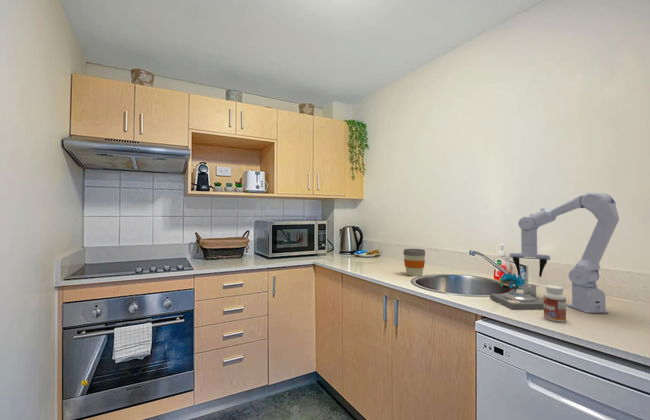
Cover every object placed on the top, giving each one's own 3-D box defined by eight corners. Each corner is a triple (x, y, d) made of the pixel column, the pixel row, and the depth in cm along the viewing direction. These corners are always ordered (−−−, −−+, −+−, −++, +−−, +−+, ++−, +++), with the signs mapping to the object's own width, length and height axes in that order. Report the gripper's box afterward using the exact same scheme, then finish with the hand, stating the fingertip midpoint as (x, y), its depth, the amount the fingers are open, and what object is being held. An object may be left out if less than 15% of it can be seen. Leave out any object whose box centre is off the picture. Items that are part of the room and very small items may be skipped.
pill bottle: (539, 316, 106) (538, 284, 106) (555, 315, 106) (554, 284, 106) (554, 322, 99) (553, 289, 100) (571, 322, 100) (570, 288, 100)
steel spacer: (539, 298, 129) (538, 286, 129) (528, 298, 129) (528, 286, 129) (531, 295, 133) (531, 284, 133) (521, 295, 133) (521, 284, 133)
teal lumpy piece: (528, 284, 146) (520, 271, 142) (526, 295, 143) (518, 282, 139) (504, 283, 155) (496, 271, 151) (502, 293, 152) (493, 281, 148)
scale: (549, 309, 113) (548, 302, 113) (512, 309, 113) (512, 302, 113) (522, 298, 128) (522, 292, 128) (490, 298, 128) (489, 292, 128)
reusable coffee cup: (411, 272, 187) (411, 248, 188) (429, 275, 178) (429, 250, 178) (399, 274, 179) (399, 249, 180) (417, 278, 170) (417, 251, 170)
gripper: (549, 244, 131) (549, 275, 131) (510, 242, 139) (510, 272, 138) (550, 245, 125) (550, 278, 125) (509, 244, 133) (509, 274, 133)
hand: (529, 275), depth 131 cm, fingers open, 7 cm apart
